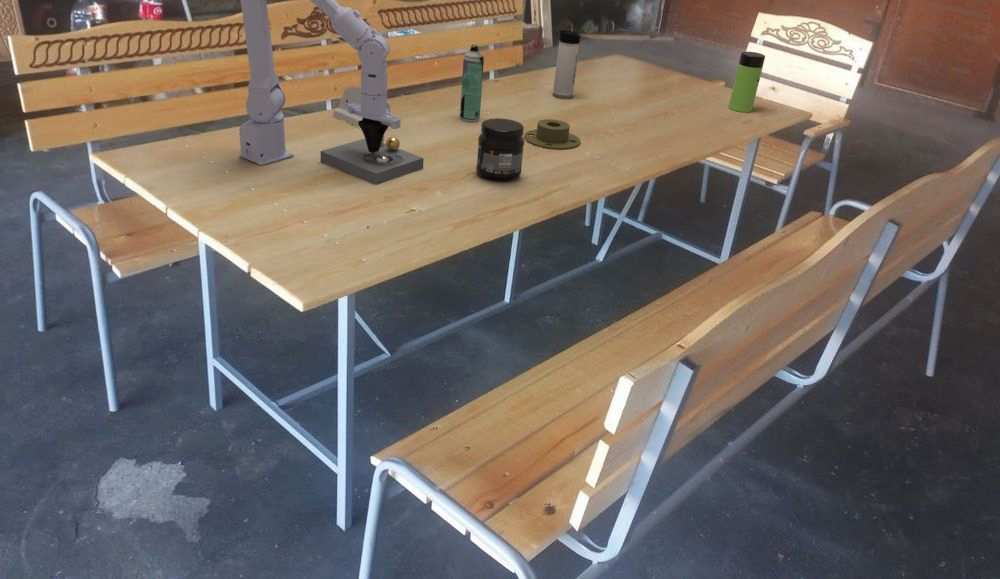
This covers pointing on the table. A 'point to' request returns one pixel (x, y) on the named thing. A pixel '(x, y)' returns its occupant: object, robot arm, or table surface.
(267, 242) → the table surface
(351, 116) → the grey rounded bracket
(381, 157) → the ball
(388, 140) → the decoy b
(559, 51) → the travel mug
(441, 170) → the table surface
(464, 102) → the spray can
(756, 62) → the tumbler
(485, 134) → the supplement container
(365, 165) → the plate
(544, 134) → the flange
